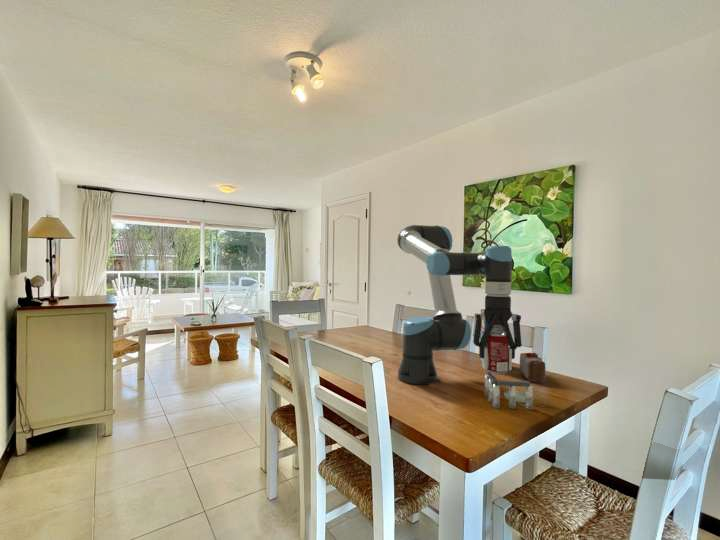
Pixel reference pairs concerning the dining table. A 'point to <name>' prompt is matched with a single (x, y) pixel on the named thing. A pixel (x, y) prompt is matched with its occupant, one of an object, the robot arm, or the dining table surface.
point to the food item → (532, 367)
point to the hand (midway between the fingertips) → (496, 368)
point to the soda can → (497, 353)
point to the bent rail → (494, 391)
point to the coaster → (517, 396)
